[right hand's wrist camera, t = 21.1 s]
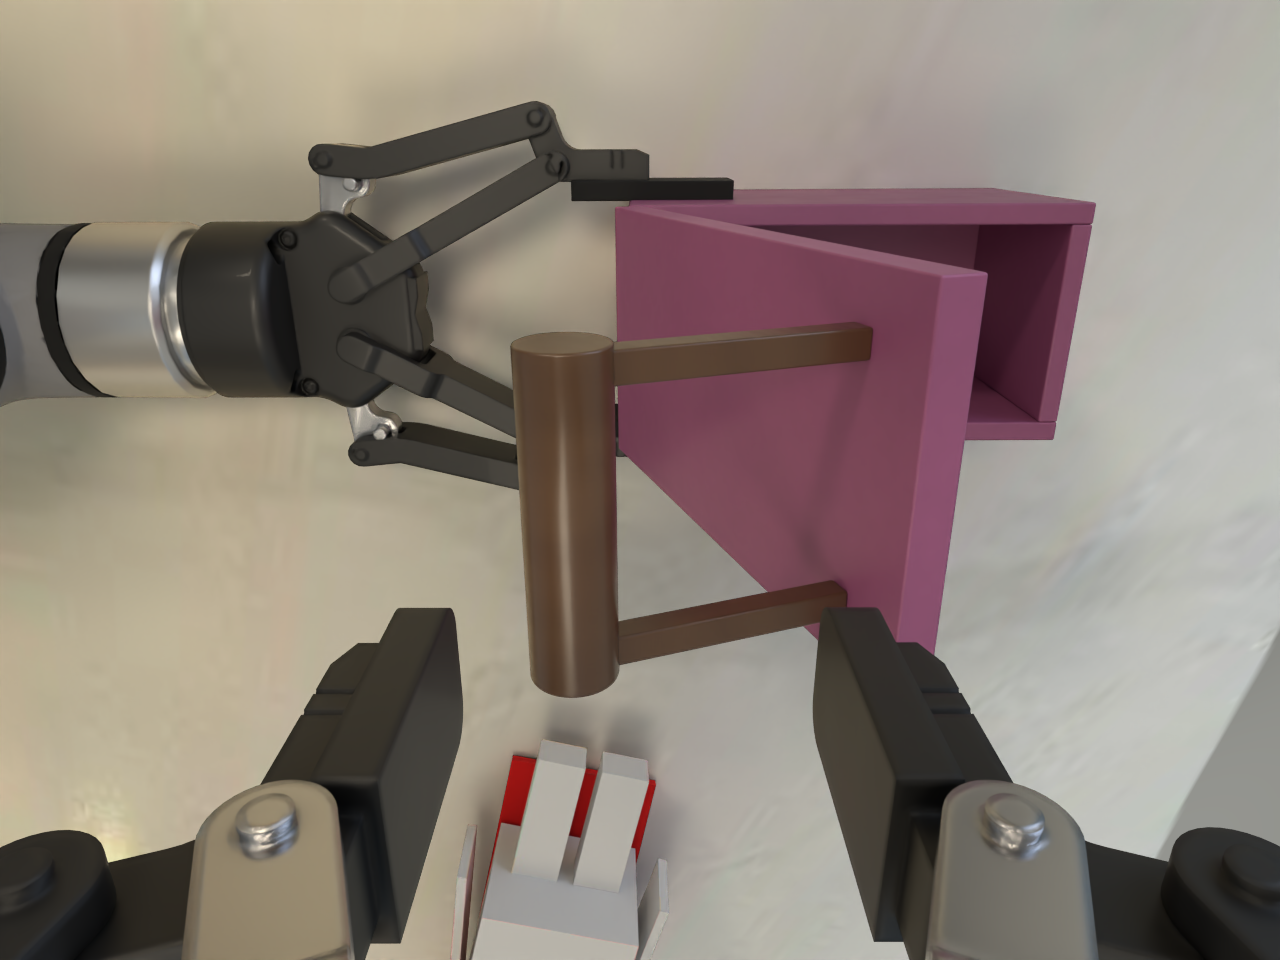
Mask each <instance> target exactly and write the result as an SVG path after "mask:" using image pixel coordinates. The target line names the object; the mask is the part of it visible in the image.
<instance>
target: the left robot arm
mask: <svg viewBox="0 0 1280 960" xmlns="http://www.w3.org/2000/svg"><path fill="white" fill-rule="evenodd" d="M526 139H529V141H530V143H531V146H532V148H533V151H534V153H535V156H536V159H534V160H532V161H530V162H529V163H527V164H525V165H524V166H522V167H520V168H518V169H517V170H515V171H513V172H512V173H510V174H508V175H506V176H505V177H503V178H501V179H500V180H498V181H496V182H495V183H493V184H491V185H489V186H488V187H486V188H484V189H483V190H481V191H479V192H477V193H476V194H474V195H472V196H471V197H469V198H467V199H465V200H464V201H462V202H460V203H459V204H457V205H455V206H453V207H452V208H450V209H448V210H447V211H445V212H443V213H441V214H440V215H438V216H436V217H435V218H433V219H431V220H429V221H428V222H426V223H424V224H423V225H421V226H419V227H417V228H416V229H414V230H412V231H410V232H408V233H406V234H405V235H403V236H401V237H399V238H398V239H396V240H394V241H392V240H391V239H389V238H388V237H386V236H385V235H383V234H382V233H380V232H379V231H378V230H376V229H375V228H373V227H372V226H370V225H369V224H367V223H366V222H365V221H363V220H362V219H360V218H359V217H357V216H356V215H354V214H353V213H351V206H352V204H353V202H354V201H355V200H356V199H358V198H361V197H366V196H369V195H370V194H372V193H373V191H374V189H375V187H376V179H377V178H383V177H389V176H395V175H400V174H404V173H408V172H411V171H415V170H418V169H422V168H426V167H429V166H433V165H436V164H440V163H444V162H447V161H451V160H454V159H458V158H462V157H465V156H469V155H472V154H476V153H479V152H483V151H487V150H490V149H494V148H497V147H501V146H505V145H508V144H512V143H515V142H519V141H523V140H526ZM308 160H309V164H310V166H311V168H312V169H313V171H315V172H316V173H317V174H319V186H320V212H318V213H316V214H315V215H313V216H312V217H310V218H309V219H307V220H305V221H297V222H210V223H207V224H205V225H203V226H202V227H199V226H197V225H194V224H192V223H190V222H94V223H81V224H7V223H0V407H1V406H4V405H6V404H8V403H11V402H14V401H19V400H24V399H33V398H62V397H167V398H207V397H209V396H212V395H215V394H216V393H218V394H220V395H222V396H225V397H322V398H326V399H329V400H331V401H334V402H336V403H338V404H340V405H342V406H345V407H347V411H348V415H349V419H350V423H351V428H352V432H353V436H354V443H353V444H352V445H351V446H350V448H349V450H348V456H349V458H350V460H351V461H352V462H353V463H354V464H356V465H358V466H374V465H385V464H395V463H403V464H407V465H412V466H416V467H421V468H425V469H429V470H434V471H438V472H443V473H447V474H451V475H456V476H460V477H464V478H469V479H473V480H478V481H482V482H486V483H491V484H495V485H499V486H504V487H508V488H513V489H517V490H519V477H518V461H517V445H514V444H509V443H505V442H501V441H496V440H492V439H488V438H483V437H479V436H475V435H471V434H466V433H462V432H458V431H453V430H449V429H445V428H441V427H436V426H432V425H428V424H422V423H414V422H402V421H401V419H400V417H399V416H398V415H397V414H395V413H393V412H389V411H384V410H382V409H380V408H379V407H377V405H376V404H375V402H374V399H375V398H376V397H377V396H378V395H380V394H381V393H382V392H384V391H385V390H386V389H388V388H389V387H390V386H392V385H393V384H396V385H398V386H400V387H402V388H404V389H406V390H408V391H410V392H412V393H414V394H416V395H419V396H421V397H425V398H433V399H436V400H438V401H440V402H442V403H444V404H446V405H448V406H450V407H452V408H455V409H457V410H459V411H461V412H463V413H465V414H467V415H469V416H471V417H473V418H475V419H477V420H479V421H481V422H483V423H485V424H488V425H490V426H492V427H494V428H496V429H498V430H500V431H502V432H504V433H506V434H508V435H510V436H512V437H514V438H516V429H515V413H514V396H513V390H512V389H510V388H508V387H506V386H504V385H502V384H500V383H498V382H496V381H494V380H492V379H490V378H488V377H486V376H484V375H482V374H480V373H478V372H476V371H474V370H472V369H469V368H467V367H465V366H463V365H461V364H459V363H457V362H456V361H454V360H453V358H452V357H451V356H450V355H448V354H446V353H445V352H443V351H441V350H439V349H437V348H434V347H432V346H430V344H431V343H432V342H433V341H434V339H433V329H432V322H431V320H430V317H429V314H428V311H427V309H426V302H427V296H428V290H429V286H428V275H427V271H423V269H422V267H421V265H420V263H419V262H421V261H422V260H424V259H426V258H428V257H429V256H431V255H433V254H435V253H436V252H438V251H440V250H441V249H443V248H445V247H447V246H448V245H450V244H452V243H454V242H455V241H457V240H459V239H461V238H462V237H464V236H466V235H468V234H469V233H471V232H473V231H475V230H476V229H478V228H480V227H481V226H483V225H485V224H487V223H488V222H490V221H492V220H494V219H495V218H497V217H499V216H501V215H502V214H504V213H506V212H508V211H509V210H511V209H513V208H515V207H516V206H518V205H520V204H521V203H523V202H525V201H527V200H528V199H530V198H532V197H534V196H535V195H537V194H539V193H541V192H542V191H544V190H546V189H548V188H549V187H551V186H553V185H555V184H556V183H558V182H571V195H572V201H631V200H733V189H734V181H733V180H731V179H729V178H649V154H647V153H644V152H642V151H640V150H637V149H588V150H581V149H575V148H573V147H571V146H570V145H568V144H567V142H566V141H565V140H564V138H563V136H562V133H561V130H560V128H559V125H558V122H557V119H556V114H555V112H554V110H553V109H552V108H551V107H550V106H549V105H546V104H544V103H541V102H538V101H532V102H528V103H524V104H521V105H517V106H514V107H510V108H506V109H503V110H499V111H496V112H492V113H489V114H485V115H482V116H478V117H475V118H471V119H468V120H464V121H460V122H457V123H453V124H450V125H446V126H443V127H439V128H436V129H432V130H429V131H425V132H422V133H418V134H414V135H411V136H407V137H404V138H400V139H397V140H393V141H390V142H386V143H383V144H379V145H376V146H362V145H352V144H343V143H339V144H317V145H315V146H314V147H312V149H311V150H310V152H309V156H308ZM615 442H616V456H617V457H624V456H626V455H625V454H624V453H623V452H622V451H621V450H620V449H619V428H618V404H615ZM626 457H627V456H626Z"/></svg>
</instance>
